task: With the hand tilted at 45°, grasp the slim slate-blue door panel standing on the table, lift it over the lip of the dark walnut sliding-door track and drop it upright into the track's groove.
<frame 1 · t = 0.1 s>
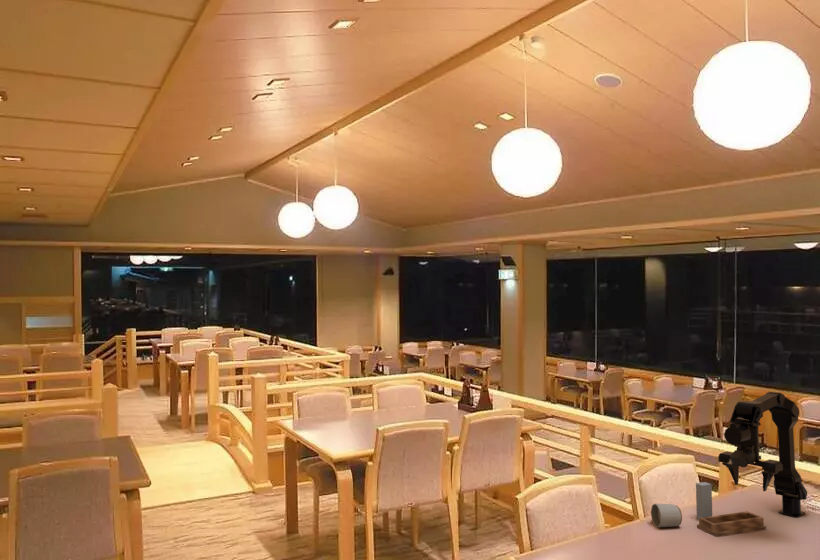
hand: (750, 487, 216), 15 cm above the table, tool pointing down, fingers open, 9 cm apart
door track: (731, 528, 219), on the table
door panel: (704, 519, 228), on the table
ceramic mug: (664, 525, 224), on the table
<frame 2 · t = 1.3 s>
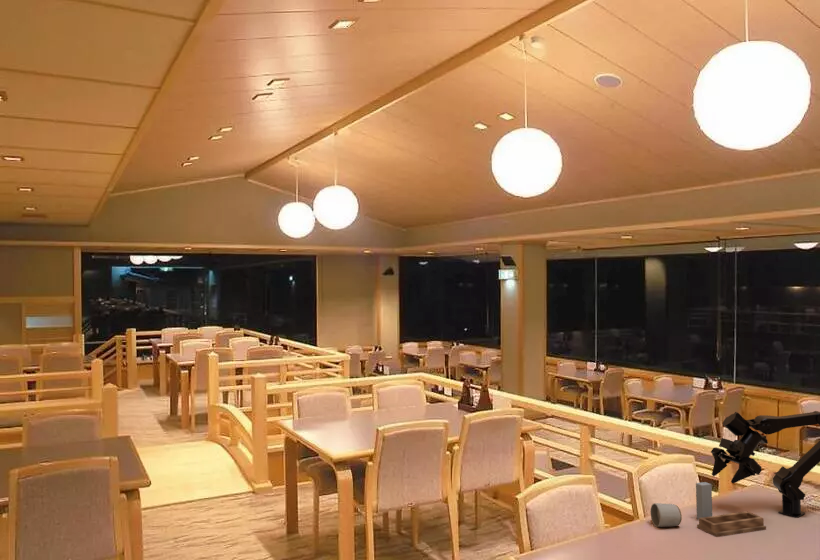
hand: (722, 479, 230), 13 cm above the table, tool tilted 45°, fingers open, 9 cm apart
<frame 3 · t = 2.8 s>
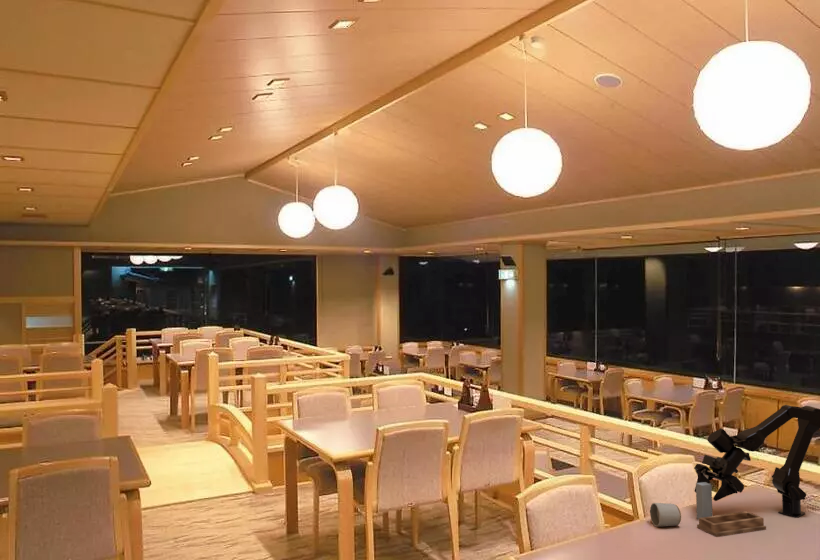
hand: (704, 496, 228), 8 cm above the table, tool tilted 45°, fingers open, 9 cm apart
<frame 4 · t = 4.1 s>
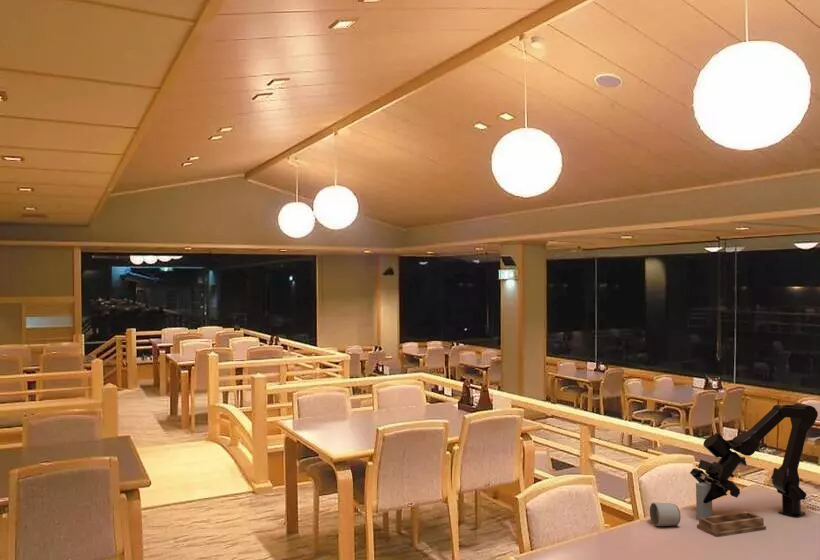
hand: (700, 501, 228), 7 cm above the table, tool tilted 45°, fingers closed on door panel, 3 cm apart
door panel: (704, 519, 228), on the table, touching gripper
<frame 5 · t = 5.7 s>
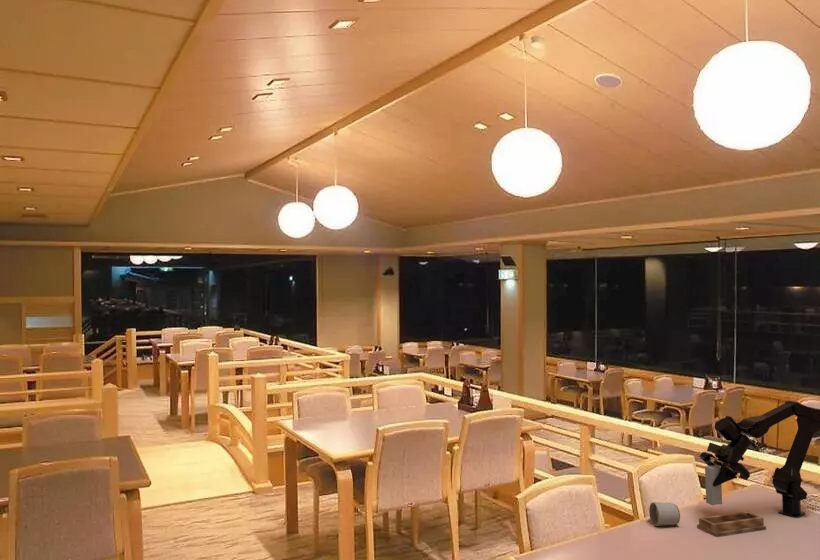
hand: (710, 484, 225), 13 cm above the table, tool tilted 45°, fingers closed on door panel, 3 cm apart
door panel: (714, 503, 225), point 7 cm above the table, touching gripper
when the fingers open (9 cm above the table, at t = 7.4 s): door panel drops 1 cm, resting on door track.
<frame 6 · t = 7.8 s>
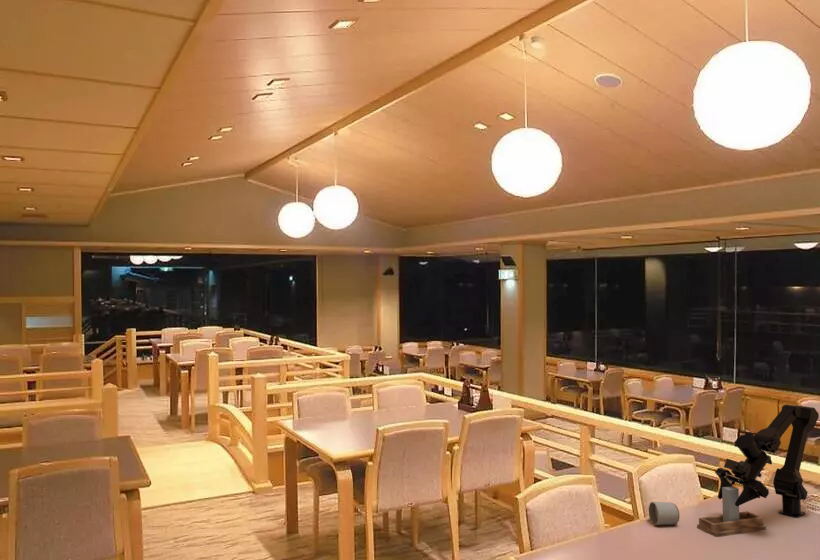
hand: (727, 501, 219), 9 cm above the table, tool tilted 45°, fingers open, 7 cm apart
door panel: (731, 525, 219), point 1 cm above the table, touching door track
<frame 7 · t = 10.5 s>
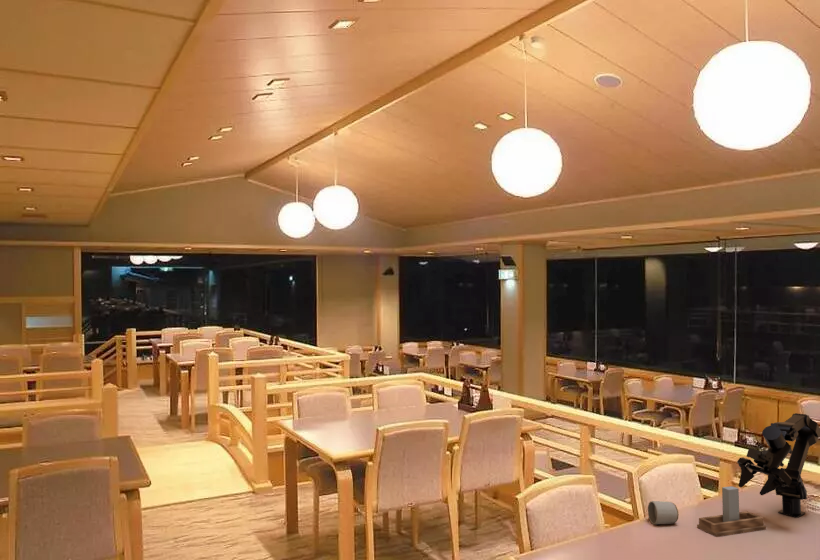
hand: (749, 490, 221), 12 cm above the table, tool tilted 45°, fingers open, 9 cm apart
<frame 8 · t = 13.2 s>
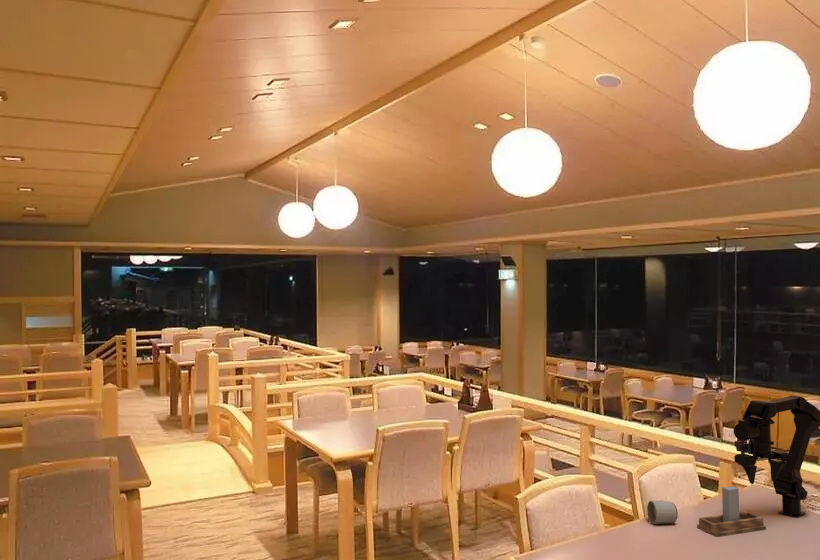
hand: (762, 482, 226), 13 cm above the table, tool pointing down, fingers open, 9 cm apart
at the end: door panel 0.0 cm off-centre on the door track, point 1.0 cm above the door track's base; door panel tilted 0°; the gripper is holding nothing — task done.
